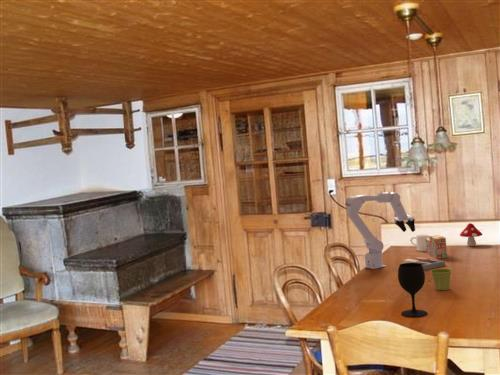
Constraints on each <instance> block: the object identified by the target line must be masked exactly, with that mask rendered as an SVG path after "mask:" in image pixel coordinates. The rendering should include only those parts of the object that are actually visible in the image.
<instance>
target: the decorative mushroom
mask: <svg viewBox="0 0 500 375" xmlns="http://www.w3.org/2000/svg"><path fill="white" fill-rule="evenodd" d="M459 236H460V237H463V238H467V243H466V244H467V246H468V247H475V246H476V245H477V242H476V237H477V238H478V237H481V236H483V233H482V232H481V231H480V229H478V228H477V227H476V226H475V224H473V223H471V222H470V223H468V224H466V226H465V228H464V229H462V231H461V232H460V234H459Z"/></svg>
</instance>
